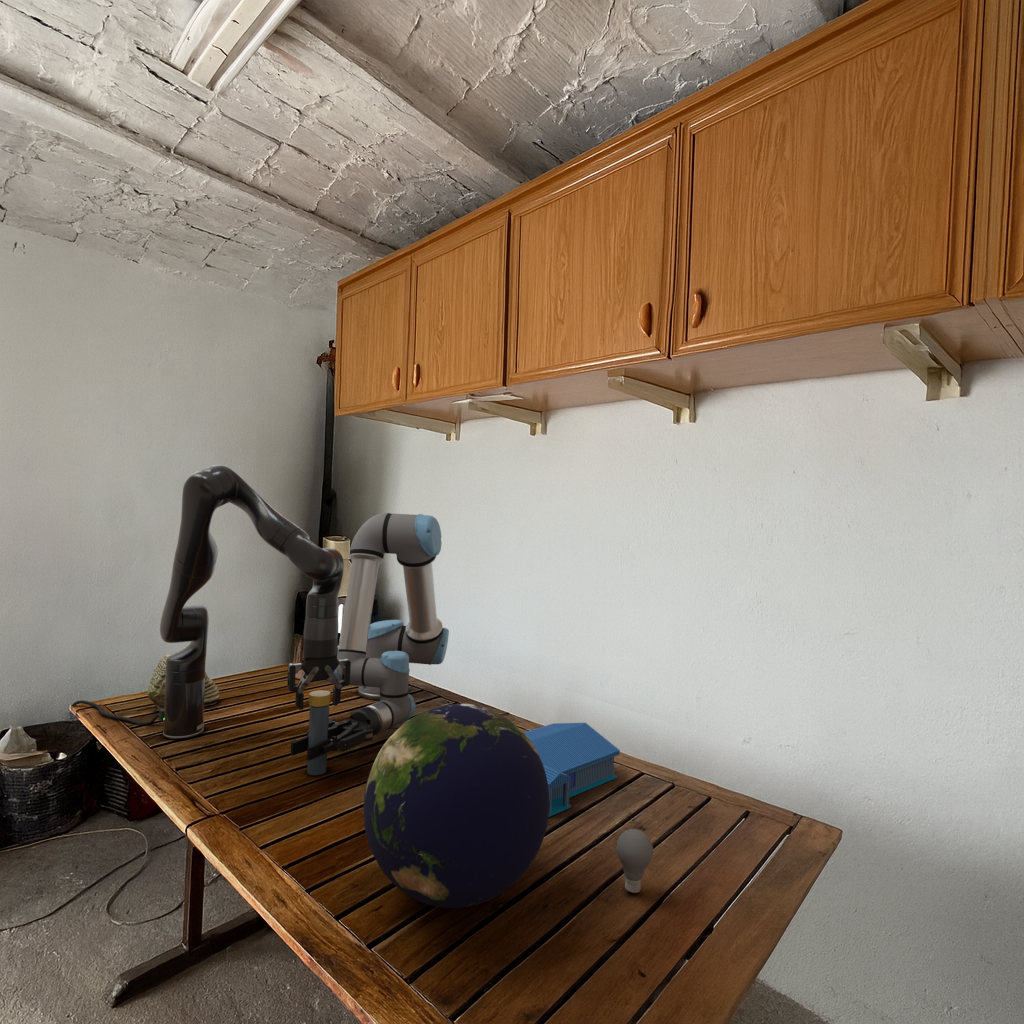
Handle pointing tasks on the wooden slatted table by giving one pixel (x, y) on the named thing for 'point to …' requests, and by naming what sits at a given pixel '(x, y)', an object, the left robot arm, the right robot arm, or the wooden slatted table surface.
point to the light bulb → (634, 857)
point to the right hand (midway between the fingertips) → (300, 751)
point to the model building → (572, 760)
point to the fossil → (158, 687)
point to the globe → (456, 806)
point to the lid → (319, 698)
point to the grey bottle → (318, 737)
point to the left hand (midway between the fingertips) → (318, 706)
